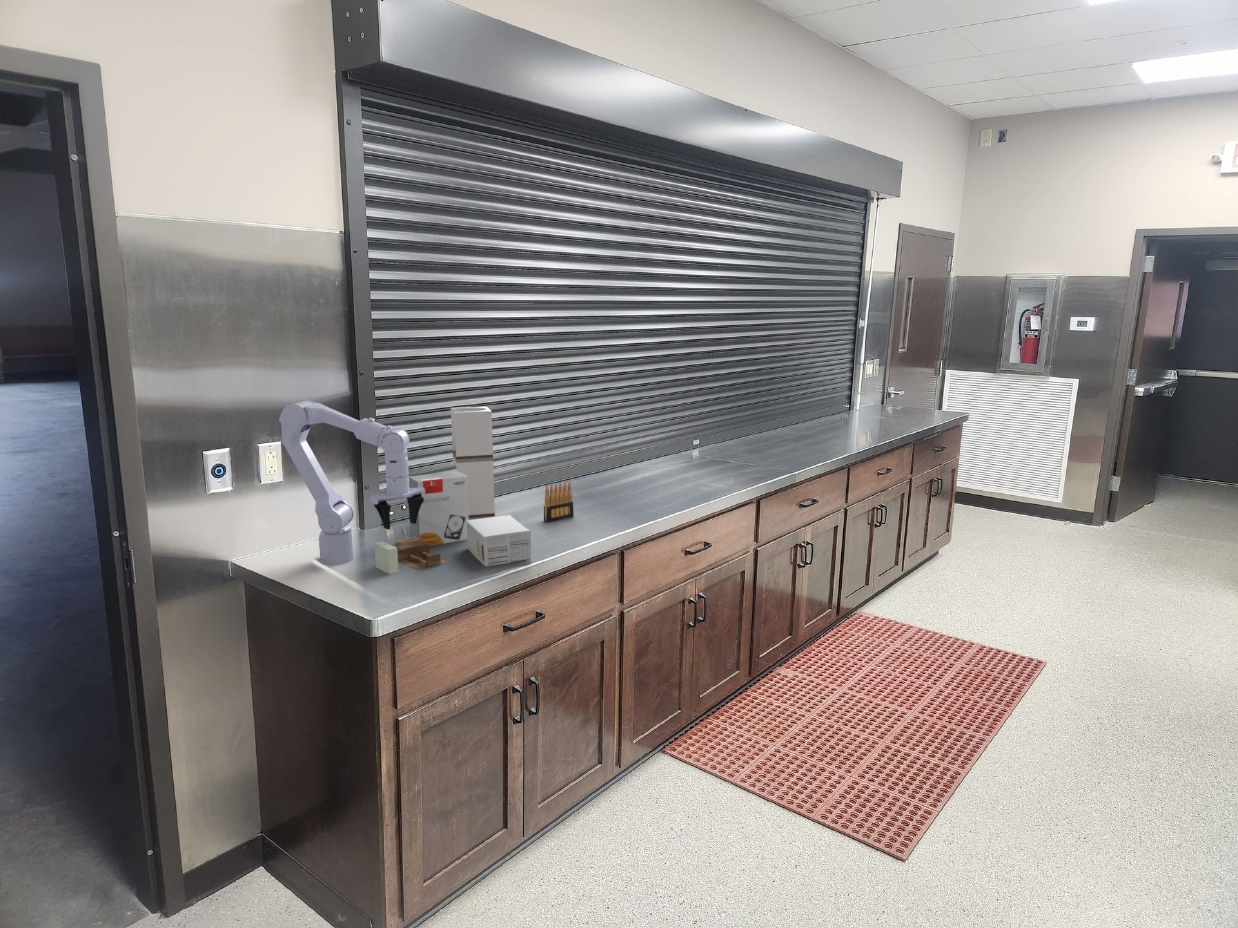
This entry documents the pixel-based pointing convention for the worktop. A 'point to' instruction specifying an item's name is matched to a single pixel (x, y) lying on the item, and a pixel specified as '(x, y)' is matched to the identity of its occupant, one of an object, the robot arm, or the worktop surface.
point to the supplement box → (498, 540)
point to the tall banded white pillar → (475, 457)
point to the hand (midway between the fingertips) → (400, 525)
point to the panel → (386, 557)
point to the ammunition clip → (558, 503)
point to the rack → (419, 557)
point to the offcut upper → (408, 542)
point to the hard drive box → (441, 508)
